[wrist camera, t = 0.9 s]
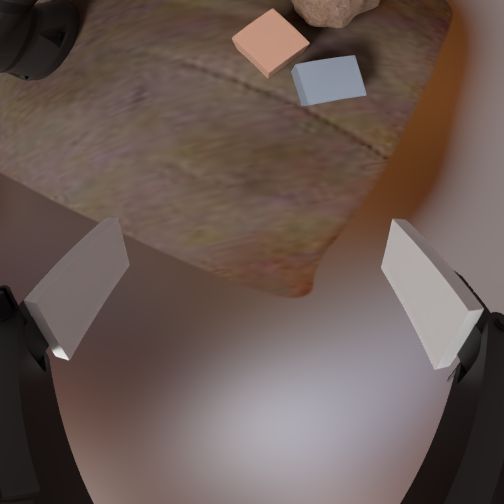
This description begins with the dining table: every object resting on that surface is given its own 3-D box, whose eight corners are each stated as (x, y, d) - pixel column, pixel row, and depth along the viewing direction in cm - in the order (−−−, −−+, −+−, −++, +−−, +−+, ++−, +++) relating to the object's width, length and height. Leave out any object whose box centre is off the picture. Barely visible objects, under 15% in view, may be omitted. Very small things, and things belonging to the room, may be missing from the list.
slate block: (290, 71, 29) (295, 64, 24) (341, 62, 28) (354, 55, 23) (301, 106, 32) (308, 105, 26) (351, 96, 30) (366, 95, 25)
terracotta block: (236, 48, 28) (231, 38, 23) (271, 23, 26) (272, 8, 21) (268, 79, 30) (268, 73, 25) (302, 53, 28) (310, 43, 23)
